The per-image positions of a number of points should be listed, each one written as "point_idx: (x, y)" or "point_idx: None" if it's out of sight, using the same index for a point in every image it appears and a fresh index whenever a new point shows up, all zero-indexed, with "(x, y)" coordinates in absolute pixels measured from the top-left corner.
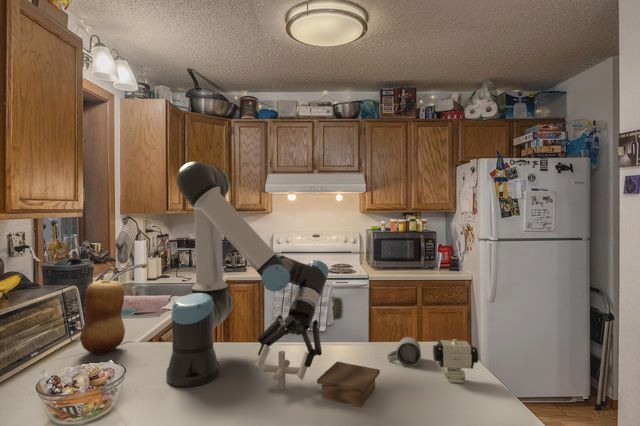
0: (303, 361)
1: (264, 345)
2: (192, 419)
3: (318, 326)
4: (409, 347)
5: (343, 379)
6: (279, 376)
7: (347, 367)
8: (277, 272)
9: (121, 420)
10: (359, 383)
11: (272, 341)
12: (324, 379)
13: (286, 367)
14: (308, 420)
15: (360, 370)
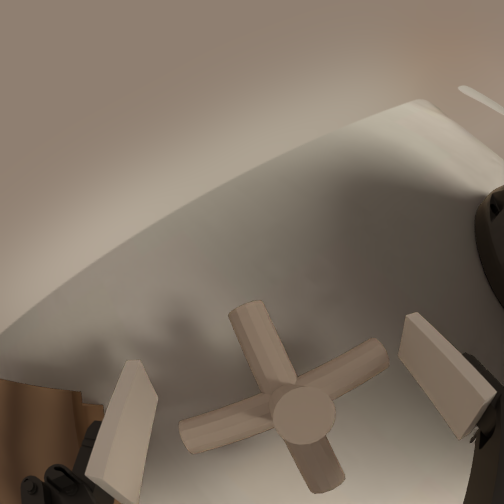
0: (109, 421)
1: (488, 389)
2: (339, 131)
3: None
4: None
5: (12, 422)
6: (231, 319)
7: None
8: None
9: (411, 101)
10: None
11: (481, 463)
12: (51, 402)
13: (256, 411)
14: (85, 268)
15: (18, 501)
